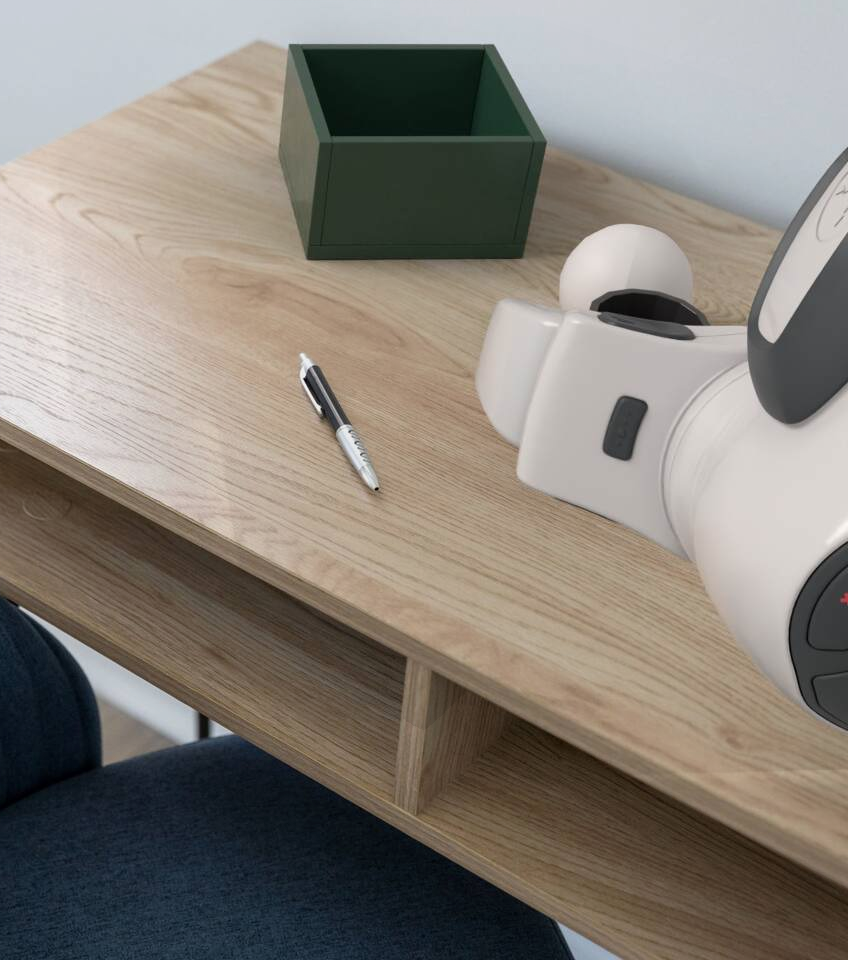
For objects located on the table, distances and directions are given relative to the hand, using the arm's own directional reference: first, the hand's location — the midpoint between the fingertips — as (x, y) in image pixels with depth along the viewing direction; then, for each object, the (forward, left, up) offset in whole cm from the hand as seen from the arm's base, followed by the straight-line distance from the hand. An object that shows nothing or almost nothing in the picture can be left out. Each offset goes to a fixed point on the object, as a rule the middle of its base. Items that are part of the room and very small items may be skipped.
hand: (710, 367), depth 68 cm
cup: (-1, -9, -13) cm, 16 cm away
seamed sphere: (-6, -21, -14) cm, 26 cm away
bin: (+5, -37, -13) cm, 40 cm away
